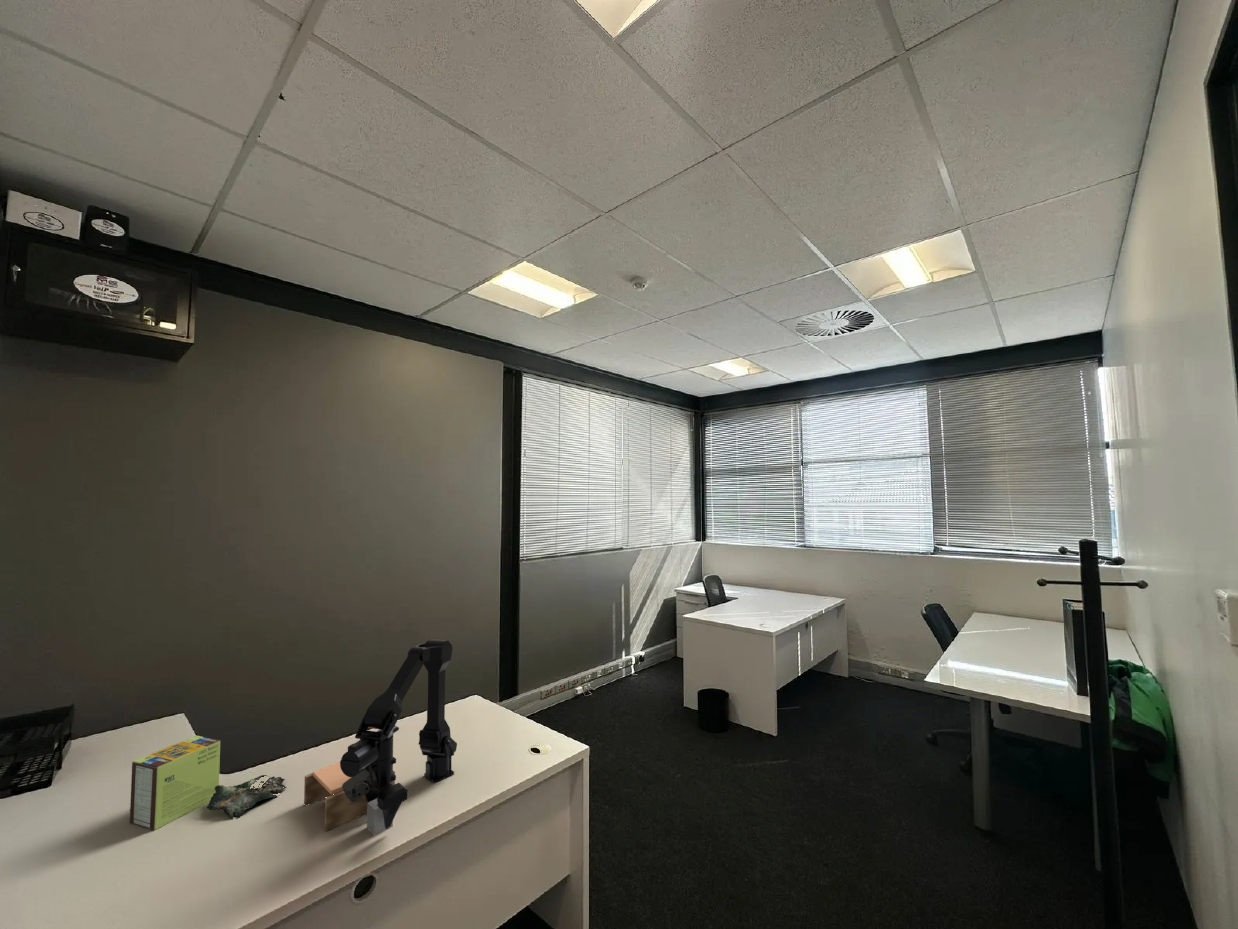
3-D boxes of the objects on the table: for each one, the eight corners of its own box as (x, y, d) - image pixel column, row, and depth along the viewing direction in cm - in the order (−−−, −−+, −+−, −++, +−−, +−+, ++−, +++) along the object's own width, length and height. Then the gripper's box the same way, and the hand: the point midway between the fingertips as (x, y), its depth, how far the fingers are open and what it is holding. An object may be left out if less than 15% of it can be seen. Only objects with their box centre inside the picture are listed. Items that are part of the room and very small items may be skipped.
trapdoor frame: (368, 777, 150) (368, 747, 151) (395, 801, 138) (395, 768, 139) (303, 803, 138) (304, 771, 138) (327, 832, 125) (327, 796, 126)
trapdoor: (370, 766, 149) (370, 750, 149) (391, 783, 140) (391, 766, 140) (312, 789, 138) (312, 771, 138) (331, 809, 128) (331, 790, 128)
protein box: (219, 797, 142) (221, 739, 143) (153, 831, 127) (156, 767, 128) (194, 790, 145) (196, 734, 146) (127, 823, 130) (130, 761, 132)
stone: (384, 819, 130) (385, 795, 131) (392, 826, 127) (393, 801, 128) (366, 827, 127) (367, 802, 127) (374, 835, 124) (374, 810, 124)
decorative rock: (254, 764, 152) (300, 762, 150) (254, 786, 151) (300, 784, 149) (195, 797, 133) (247, 795, 132) (194, 822, 132) (246, 821, 131)
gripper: (332, 756, 129) (331, 820, 127) (362, 782, 116) (361, 854, 115) (377, 740, 137) (376, 800, 136) (409, 763, 124) (409, 830, 123)
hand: (379, 820), depth 127 cm, fingers open, 9 cm apart
